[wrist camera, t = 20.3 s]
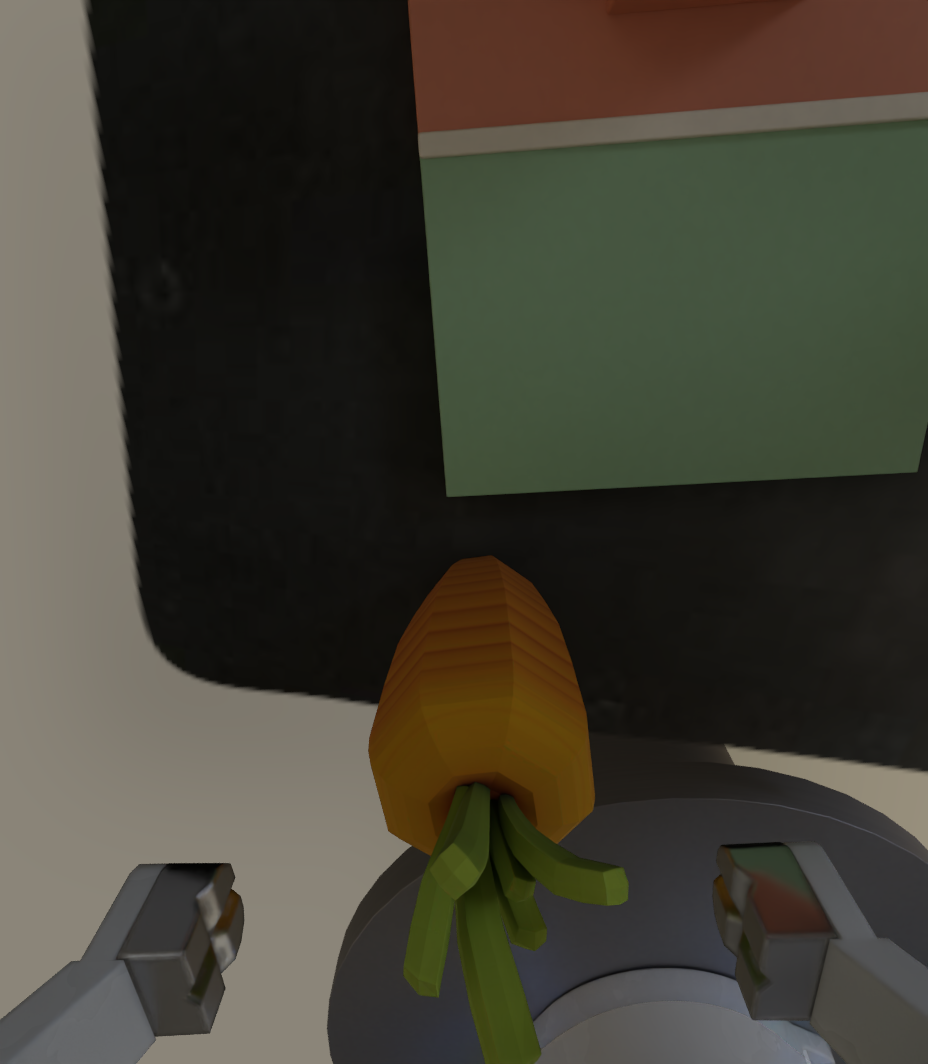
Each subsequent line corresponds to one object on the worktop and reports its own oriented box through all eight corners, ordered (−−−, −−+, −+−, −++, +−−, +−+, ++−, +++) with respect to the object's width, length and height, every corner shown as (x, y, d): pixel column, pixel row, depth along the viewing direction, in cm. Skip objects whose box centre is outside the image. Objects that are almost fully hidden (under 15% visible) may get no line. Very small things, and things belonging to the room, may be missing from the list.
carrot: (428, 486, 22) (338, 858, 8) (568, 519, 22) (718, 932, 8) (400, 610, 24) (286, 1090, 10) (529, 638, 24) (598, 1142, 10)
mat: (898, 463, 21) (922, 474, 20) (448, 488, 22) (446, 499, 21) (1076, -437, 14) (1129, -501, 13) (382, -357, 14) (374, -410, 13)
